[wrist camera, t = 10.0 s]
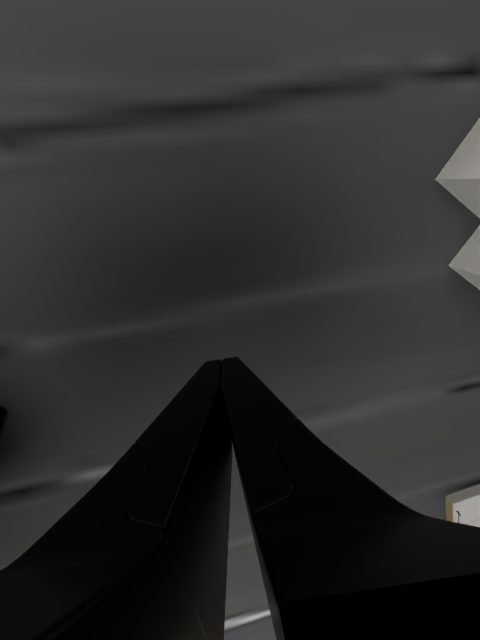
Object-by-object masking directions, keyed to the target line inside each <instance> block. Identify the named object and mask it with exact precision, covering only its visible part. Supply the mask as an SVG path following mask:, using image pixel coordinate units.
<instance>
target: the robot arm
mask: <svg viewBox="0 0 480 640" xmlns="http://www.w3.org/2000/svg"><path fill="white" fill-rule="evenodd" d="M6 416H7V413H6V411H5V410H4V409H3V408H0V436H1V433H2V430H3V426H4V423H5V419H6ZM232 443H233V447H234V452H235V457H236V461H237V466H238V470H239V475H240V479H241V484H242V488H243V492H244V497H245V501H246V506H247V510H248V515H249V519H250V524H251V528H252V533H253V537H254V542H255V546H256V551H257V555H258V559H259V564H260V568H261V573H262V577H263V582H264V586H265V591H266V595H267V600H268V604H269V609H270V613H271V617H272V622H273V626H274V631H275V635H276V640H480V527H476V526H471V525H466V524H461V523H456V522H451V521H447V520H442V519H437V518H433V517H429V516H426V515H423V514H420V513H418V512H416V511H414V510H412V509H410V508H408V507H407V506H405V505H404V504H402V503H400V502H399V501H397V500H396V499H395V498H393V497H392V496H390V495H389V494H388V493H386V492H385V491H384V490H383V489H381V488H380V487H379V486H377V485H376V484H375V483H374V482H372V481H371V480H370V479H368V478H367V477H366V476H364V475H363V474H362V473H361V472H359V471H358V470H357V469H355V468H354V467H353V466H352V465H350V464H349V463H348V462H346V461H345V460H344V459H342V458H341V457H340V456H339V455H337V454H336V453H335V452H334V451H333V450H331V449H330V448H329V447H328V446H326V445H325V444H324V443H323V442H322V441H321V440H319V439H318V438H317V437H316V436H315V435H314V434H313V433H312V432H311V431H310V430H309V429H308V428H307V427H306V426H305V425H304V424H303V423H302V422H301V421H300V420H299V419H297V417H296V416H295V415H294V414H293V413H292V412H291V411H290V410H289V409H288V408H287V407H286V406H285V405H284V404H283V403H282V402H281V401H280V400H279V399H278V398H277V397H276V396H275V395H274V394H273V393H272V391H271V390H270V389H269V388H268V387H267V386H266V385H265V384H264V383H263V382H262V381H261V380H260V379H259V378H258V377H257V376H256V375H255V374H254V373H253V372H252V371H251V370H250V369H249V368H248V367H247V366H246V365H245V364H244V363H243V362H242V361H241V360H240V359H239V358H238V357H231V358H225V359H223V360H222V361H221V360H212V361H207V362H205V363H204V364H203V365H202V366H201V367H200V369H199V370H198V371H197V372H196V373H195V374H194V375H193V377H192V378H191V379H190V380H189V381H188V382H187V383H186V385H185V386H184V387H183V388H182V389H181V390H180V391H179V393H178V394H177V395H176V396H175V397H174V398H173V399H172V401H171V402H170V403H169V404H168V405H167V406H166V407H165V409H164V410H163V411H162V412H161V413H160V414H159V415H158V417H157V418H156V419H155V420H154V421H153V422H152V423H151V425H150V426H149V427H148V428H147V429H146V430H145V431H144V433H143V434H142V435H141V436H140V437H139V438H138V439H137V441H136V444H133V445H132V446H131V447H130V448H129V450H128V451H127V452H126V453H125V454H124V455H123V456H122V457H121V458H120V460H119V461H118V462H117V463H116V464H115V465H114V466H113V467H112V468H111V469H110V470H109V472H108V473H107V474H106V475H105V476H104V477H103V478H102V479H101V480H100V481H99V482H98V483H97V484H96V485H95V486H94V487H93V488H92V489H91V490H90V491H89V492H88V493H87V494H86V495H85V496H83V497H82V498H81V499H80V500H79V501H78V502H77V503H76V504H75V505H74V506H73V507H72V508H71V509H70V510H69V511H68V512H67V513H66V514H65V515H64V516H63V517H62V518H61V519H59V520H58V521H57V522H56V523H55V524H54V525H53V526H52V527H51V528H50V529H49V530H48V531H47V532H46V533H45V534H44V535H43V536H42V537H41V538H40V539H39V540H38V541H37V542H35V543H34V544H33V545H32V546H31V547H30V548H29V549H28V550H27V551H26V552H25V553H24V554H22V555H21V556H20V557H19V558H18V559H16V560H15V561H14V562H13V563H11V564H10V565H9V566H7V567H6V568H4V569H3V570H1V571H0V640H224V621H225V600H226V578H227V556H228V534H229V513H230V491H231V469H232Z"/></svg>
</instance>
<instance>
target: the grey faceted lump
mask: <svg viewBox="0 0 480 640" xmlns="http://www.w3.org/2000/svg"><path fill="white" fill-rule="evenodd" d="M435 180H436V181H437V182H439V183H440V184H441V185H442V186H443V187H444V188H445V189H446V190H448V191H449V192H450V193H451V194H452V195H453V196H454V197H456V198H457V199H458V200H459V201H460V202H461V203H462V204H463V205H465V206H466V207H467V208H468V209H469V210H470V211H471V212H472V213H474V214H475V215H476V216H477V217H478V218H479V219H480V118H479V119H478V121H477V122H476V123H475V125H474V126H473V128H472V129H471V130H470V132H469V133H468V134H467V136H466V137H465V139H464V140H463V141H462V143H461V144H460V146H459V147H458V148H457V150H456V151H455V152H454V154H453V155H452V157H451V158H450V159H449V161H448V162H447V164H446V165H445V166H444V168H443V169H442V171H441V172H440V173H439V175H438V176H437V177H436V179H435ZM448 266H449V267H451V268H452V269H453V270H454V271H456V272H457V273H458V274H460V275H461V276H462V277H463V278H465V279H466V280H467V281H469V282H470V283H471V284H472V285H474V286H475V287H476V288H478V289H479V290H480V225H479V227H478V228H477V229H476V230H475V232H474V233H473V234H472V236H471V237H470V238H469V239H468V241H467V242H466V243H465V245H464V246H463V247H462V248H461V250H460V251H459V252H458V253H457V255H456V256H455V257H454V259H453V260H452V261H451V262H450V264H449V265H448Z"/></svg>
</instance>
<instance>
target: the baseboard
mask: <svg viewBox="0 0 480 640" xmlns="http://www.w3.org/2000/svg"><path fill="white" fill-rule="evenodd" d="M445 499H446V520H447V521H451V522H456V523H461V524H466V525H471V526H476V527H480V484H479V485H476V486H473V487H470V488H467V489H464V490H462V491H459V492H456V493H453V494H450V495H447V496H445Z"/></svg>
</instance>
